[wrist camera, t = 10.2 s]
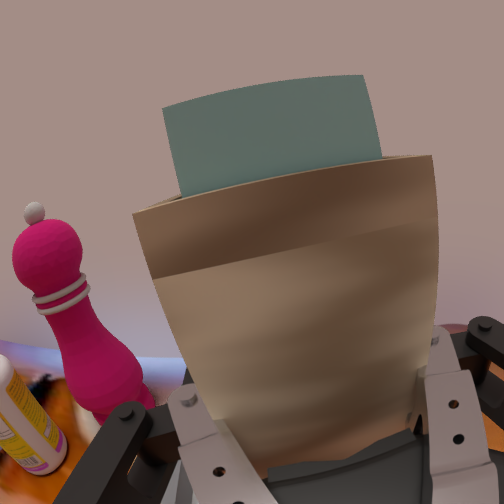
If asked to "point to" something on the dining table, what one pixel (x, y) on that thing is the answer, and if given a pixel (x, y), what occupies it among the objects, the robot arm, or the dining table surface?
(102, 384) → the pepper mill
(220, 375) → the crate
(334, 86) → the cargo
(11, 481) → the dining table surface
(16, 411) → the supplement bottle
